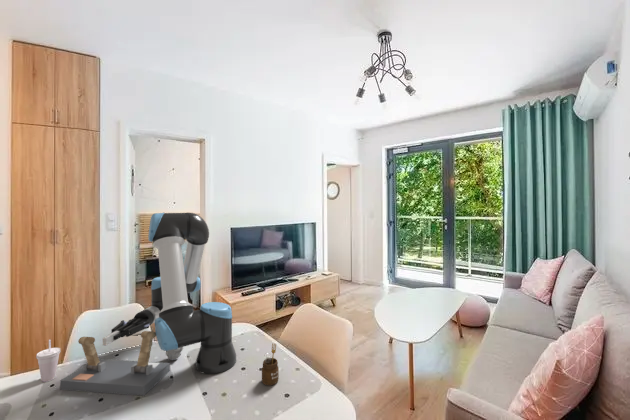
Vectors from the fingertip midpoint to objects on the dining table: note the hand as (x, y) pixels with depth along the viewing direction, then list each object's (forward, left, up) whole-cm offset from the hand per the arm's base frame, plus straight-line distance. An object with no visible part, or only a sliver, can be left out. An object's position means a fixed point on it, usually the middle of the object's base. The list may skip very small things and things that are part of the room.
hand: (104, 341), depth 107 cm
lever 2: (-18, +4, -8) cm, 20 cm away
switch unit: (-9, +4, -11) cm, 15 cm away
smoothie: (+16, +6, -11) cm, 21 cm away
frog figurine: (-21, -11, -11) cm, 26 cm away
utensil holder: (-63, -1, -11) cm, 64 cm away
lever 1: (0, +4, -8) cm, 9 cm away
